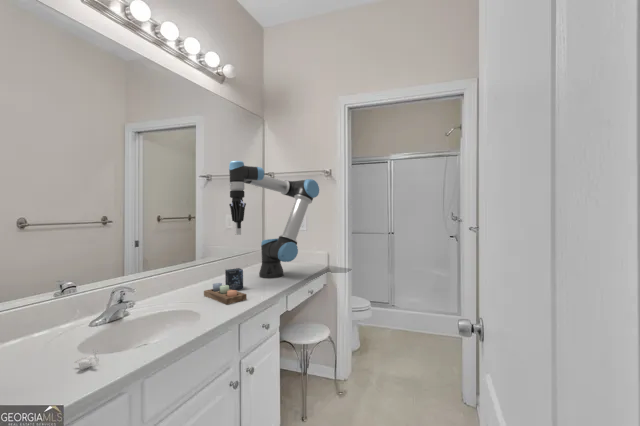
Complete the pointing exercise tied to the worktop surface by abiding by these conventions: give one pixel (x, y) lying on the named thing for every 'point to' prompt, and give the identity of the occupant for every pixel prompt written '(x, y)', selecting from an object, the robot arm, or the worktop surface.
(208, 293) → the wooden tray
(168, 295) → the worktop surface
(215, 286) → the plunger slate
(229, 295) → the plunger terracotta
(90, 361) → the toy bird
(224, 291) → the plunger sage
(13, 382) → the worktop surface
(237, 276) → the box
